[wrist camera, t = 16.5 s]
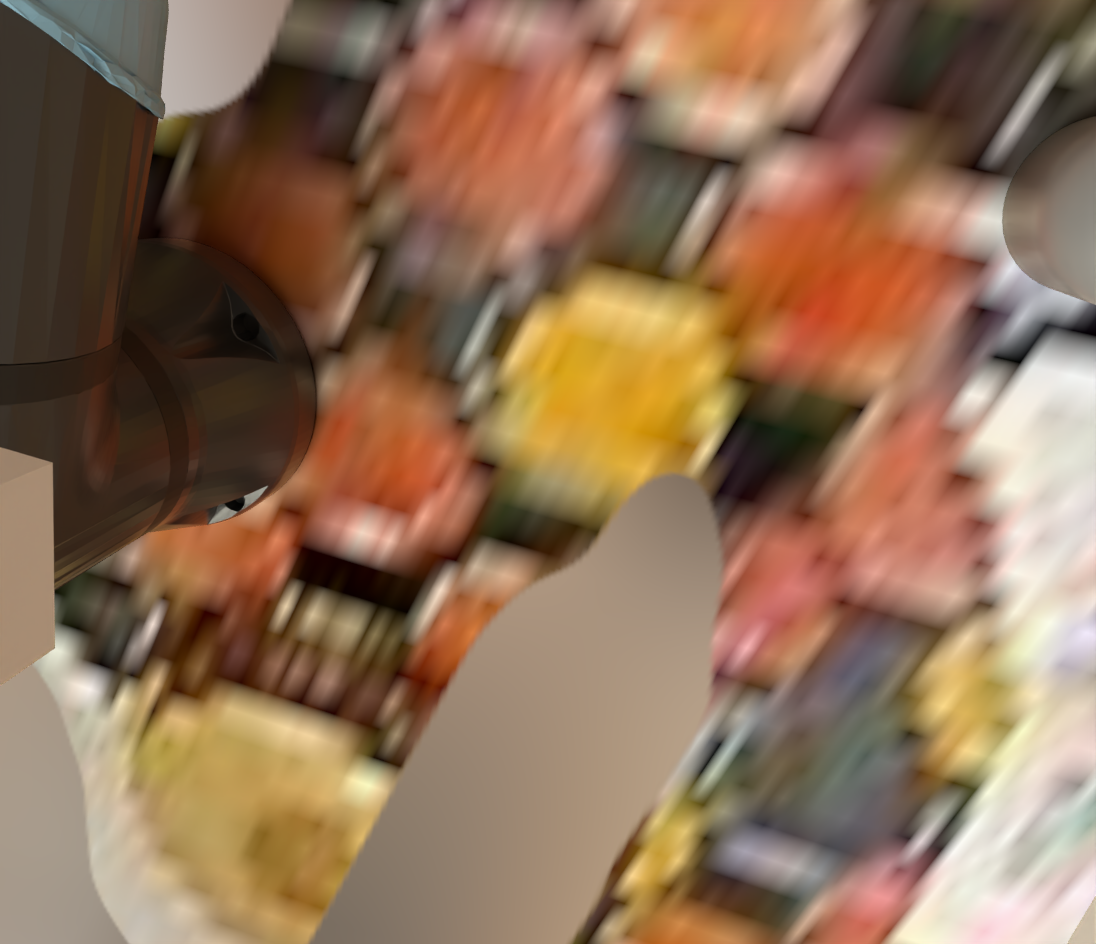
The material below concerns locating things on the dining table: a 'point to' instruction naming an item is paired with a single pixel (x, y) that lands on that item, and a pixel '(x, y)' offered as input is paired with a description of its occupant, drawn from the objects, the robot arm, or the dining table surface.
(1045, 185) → the grey rounded capsule
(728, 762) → the dining table surface
